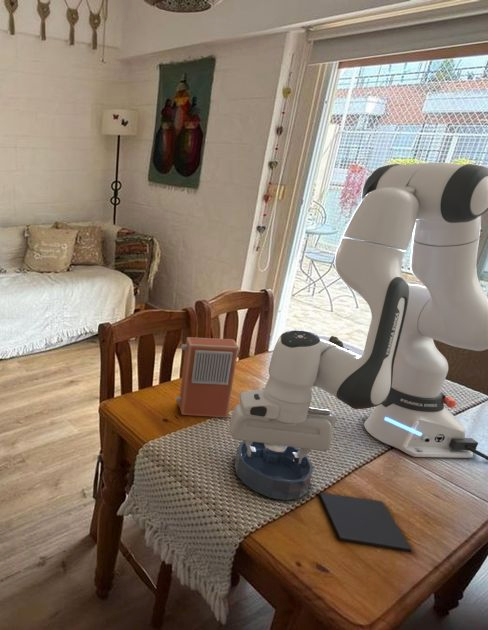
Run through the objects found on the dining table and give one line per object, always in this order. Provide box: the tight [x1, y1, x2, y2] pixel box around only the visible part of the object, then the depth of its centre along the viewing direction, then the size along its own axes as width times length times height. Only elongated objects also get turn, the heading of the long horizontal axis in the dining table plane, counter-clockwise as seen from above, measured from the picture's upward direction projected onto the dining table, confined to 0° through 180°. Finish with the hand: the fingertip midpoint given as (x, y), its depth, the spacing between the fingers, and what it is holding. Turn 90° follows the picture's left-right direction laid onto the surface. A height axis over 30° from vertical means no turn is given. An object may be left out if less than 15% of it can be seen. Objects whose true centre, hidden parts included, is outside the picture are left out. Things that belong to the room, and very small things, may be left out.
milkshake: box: [261, 443, 288, 478], centre depth 97 cm, size 5×5×10 cm
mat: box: [318, 492, 412, 552], centre depth 87 cm, size 12×12×1 cm
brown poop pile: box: [328, 335, 351, 351], centre depth 151 cm, size 11×12×10 cm
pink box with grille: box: [175, 336, 240, 419], centre depth 120 cm, size 21×7×15 cm
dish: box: [234, 440, 314, 501], centre depth 98 cm, size 15×15×5 cm
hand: (273, 458), depth 98 cm, fingers open, 8 cm apart
